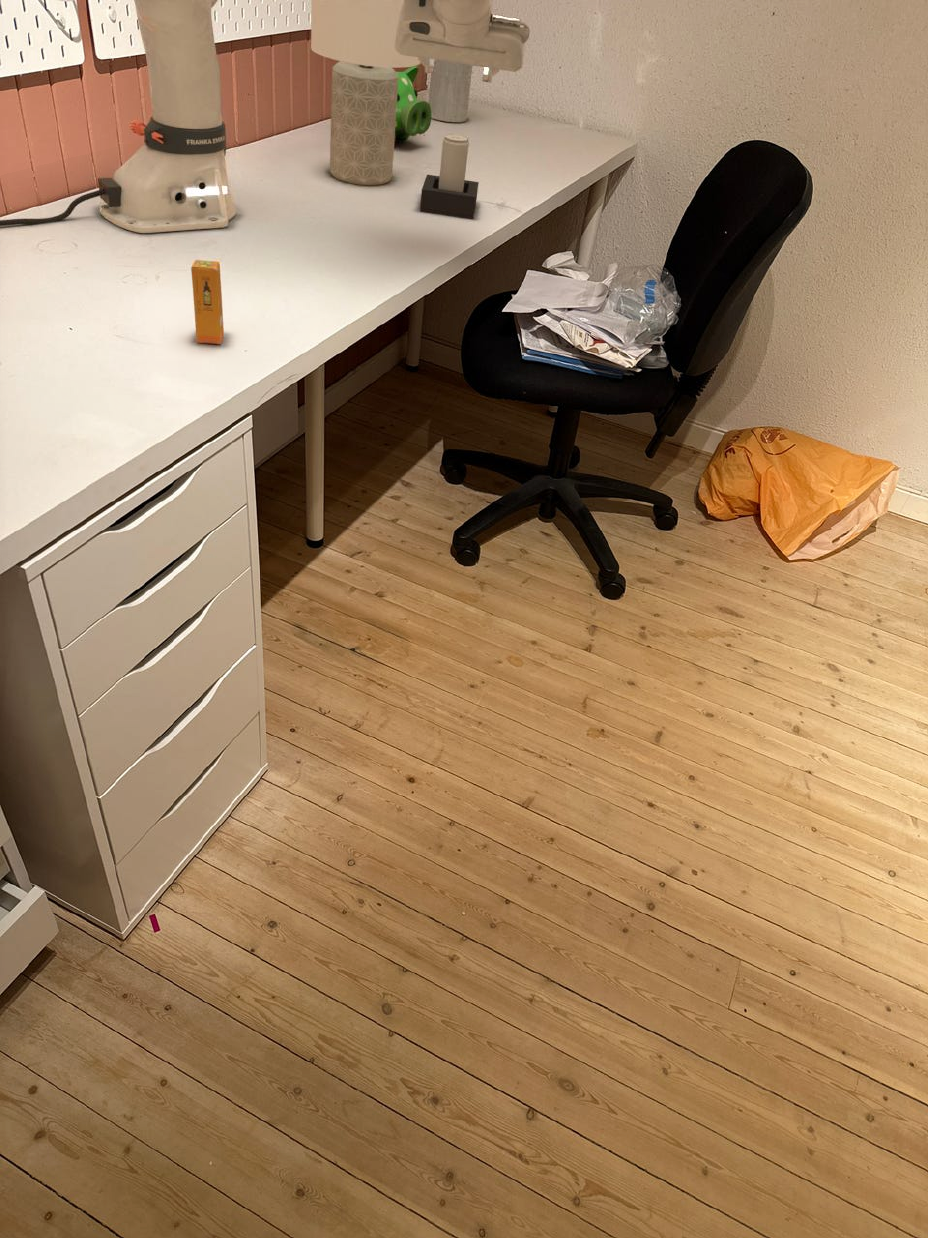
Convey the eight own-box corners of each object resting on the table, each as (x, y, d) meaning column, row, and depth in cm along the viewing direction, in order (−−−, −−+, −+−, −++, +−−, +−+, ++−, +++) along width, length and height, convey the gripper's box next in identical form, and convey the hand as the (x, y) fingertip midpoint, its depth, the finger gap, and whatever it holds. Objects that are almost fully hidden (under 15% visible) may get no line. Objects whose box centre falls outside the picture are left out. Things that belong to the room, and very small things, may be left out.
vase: (470, 124, 232) (484, -4, 215) (431, 121, 230) (442, -9, 212) (461, 114, 240) (475, -11, 222) (424, 111, 237) (434, -15, 220)
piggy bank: (398, 154, 203) (404, 77, 193) (333, 134, 209) (335, 58, 199) (434, 145, 213) (440, 71, 203) (370, 126, 219) (374, 53, 209)
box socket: (473, 218, 175) (475, 196, 172) (419, 211, 175) (421, 188, 172) (476, 203, 183) (478, 181, 180) (425, 195, 182) (426, 174, 180)
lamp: (400, 198, 179) (419, -66, 152) (296, 180, 180) (297, -86, 153) (420, 171, 195) (440, -72, 168) (325, 154, 196) (330, -91, 169)
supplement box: (225, 334, 124) (221, 260, 118) (221, 345, 122) (217, 269, 115) (200, 332, 124) (195, 257, 118) (195, 343, 121) (190, 267, 115)
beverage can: (458, 210, 176) (466, 141, 169) (434, 205, 177) (441, 137, 169) (463, 203, 180) (471, 136, 172) (439, 198, 180) (446, 131, 173)
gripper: (533, 1, 137) (523, 64, 151) (397, -20, 137) (400, 46, 150) (528, 41, 137) (519, 101, 150) (391, 20, 136) (394, 82, 150)
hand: (458, 73), depth 150 cm, fingers open, 8 cm apart
